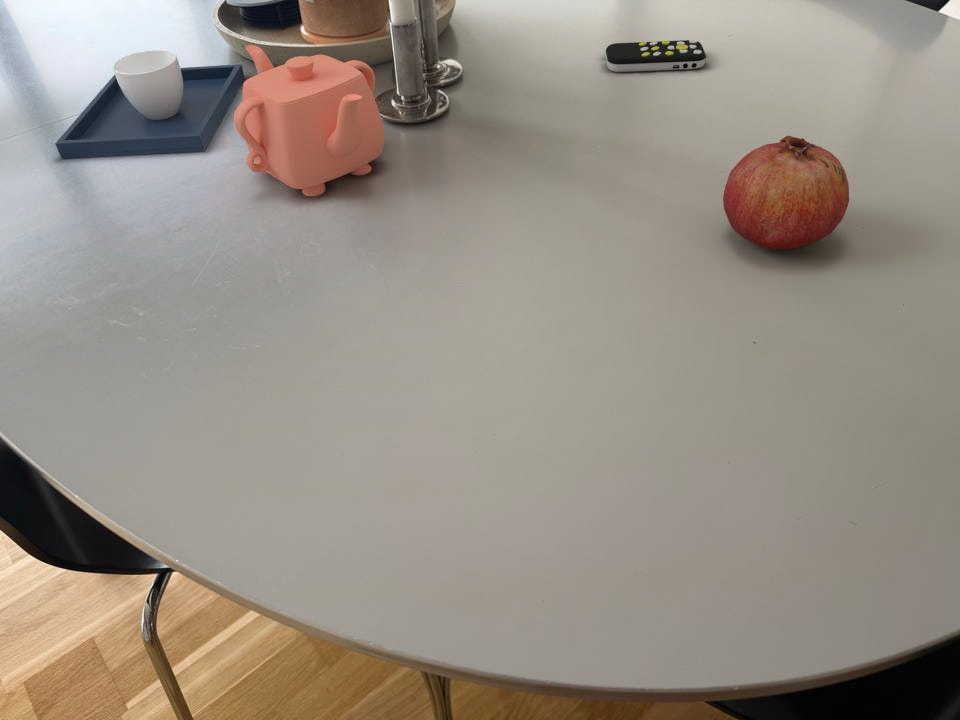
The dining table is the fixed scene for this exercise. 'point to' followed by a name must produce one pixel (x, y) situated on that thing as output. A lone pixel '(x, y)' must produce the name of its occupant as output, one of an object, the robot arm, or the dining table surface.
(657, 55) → the remote control
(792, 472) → the dining table surface
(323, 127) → the teapot
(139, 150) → the tray
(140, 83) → the cup
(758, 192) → the fruit
